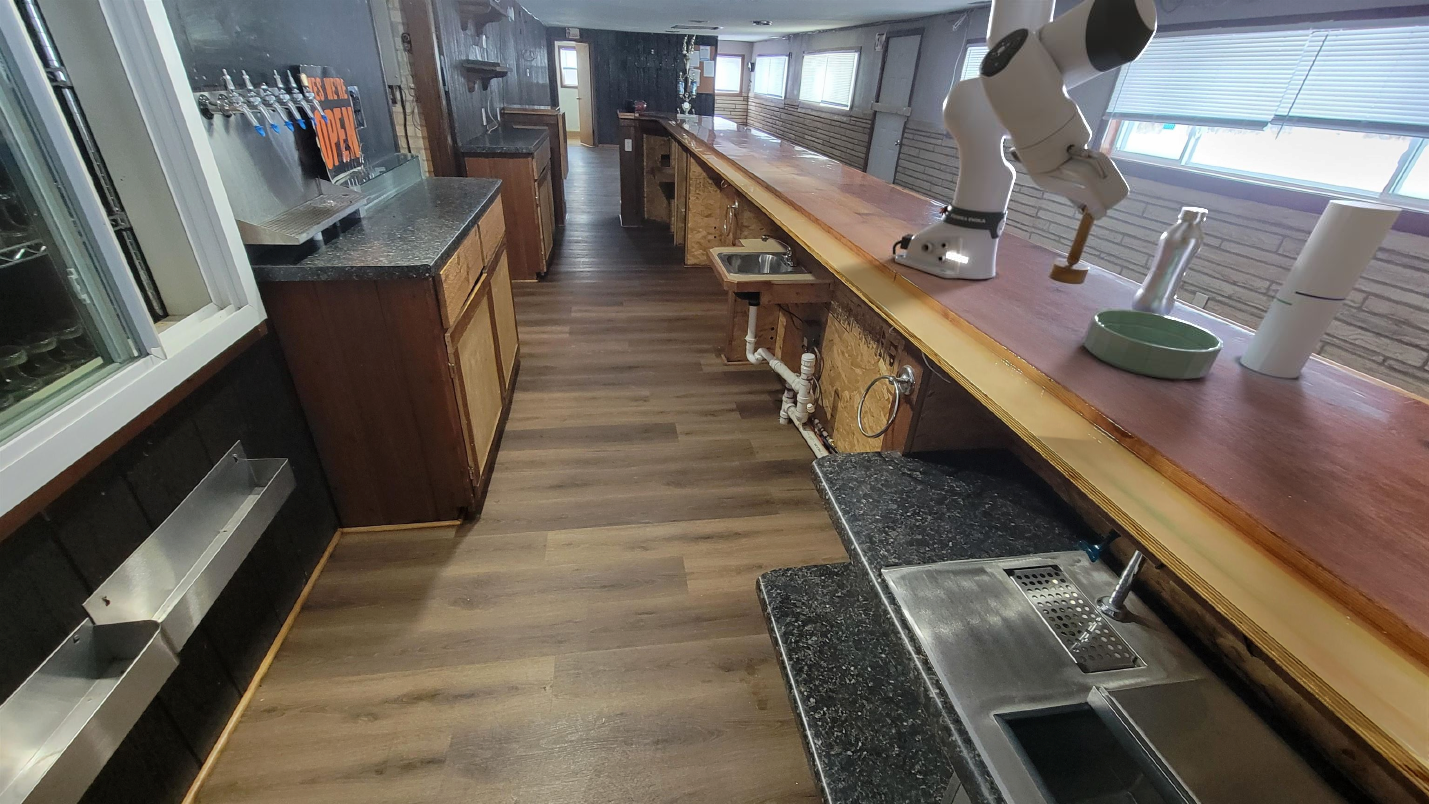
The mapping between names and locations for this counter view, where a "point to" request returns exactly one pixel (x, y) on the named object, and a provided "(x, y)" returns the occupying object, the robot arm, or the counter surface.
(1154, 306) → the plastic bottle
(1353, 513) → the counter surface
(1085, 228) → the brown stick
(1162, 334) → the bowl
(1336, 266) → the cylindrical container
